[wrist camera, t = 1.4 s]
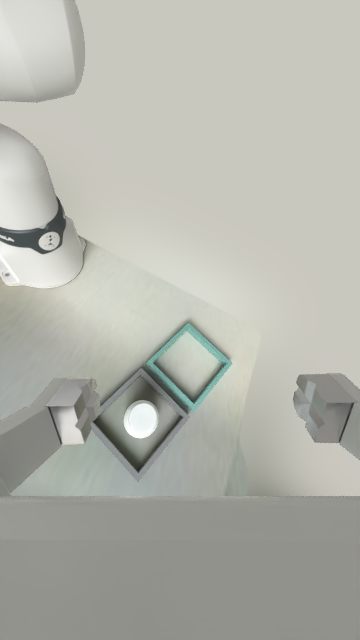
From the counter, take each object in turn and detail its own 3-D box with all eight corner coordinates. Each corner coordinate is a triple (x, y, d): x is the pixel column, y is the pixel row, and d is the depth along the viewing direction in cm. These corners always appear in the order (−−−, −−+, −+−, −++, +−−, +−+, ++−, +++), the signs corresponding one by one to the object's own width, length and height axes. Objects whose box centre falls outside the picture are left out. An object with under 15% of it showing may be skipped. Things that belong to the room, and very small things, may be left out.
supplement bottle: (124, 439, 38) (124, 443, 29) (122, 406, 40) (121, 401, 31) (155, 432, 39) (163, 435, 31) (152, 401, 41) (159, 395, 33)
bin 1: (86, 421, 38) (84, 421, 36) (140, 369, 43) (141, 367, 42) (137, 479, 36) (138, 482, 34) (187, 417, 41) (189, 416, 40)
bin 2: (145, 364, 44) (146, 362, 42) (186, 325, 50) (188, 322, 48) (192, 411, 42) (194, 410, 41) (228, 365, 48) (232, 363, 46)
